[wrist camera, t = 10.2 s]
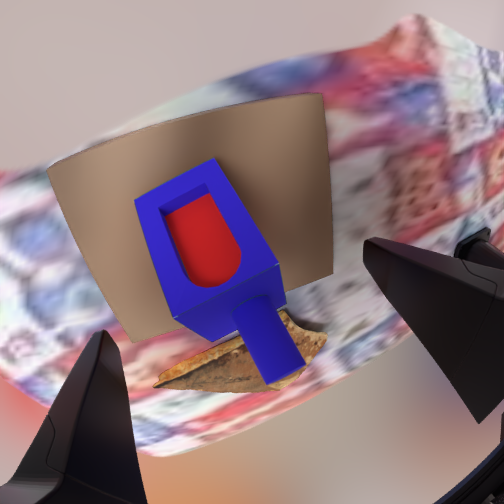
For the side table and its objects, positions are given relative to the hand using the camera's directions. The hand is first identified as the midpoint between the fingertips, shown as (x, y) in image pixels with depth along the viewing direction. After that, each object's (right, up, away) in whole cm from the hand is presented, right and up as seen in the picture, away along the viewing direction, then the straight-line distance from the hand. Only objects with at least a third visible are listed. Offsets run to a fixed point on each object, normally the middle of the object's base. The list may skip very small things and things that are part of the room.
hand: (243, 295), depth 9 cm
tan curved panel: (-2, +3, +5) cm, 6 cm away
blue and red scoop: (-2, +2, +4) cm, 5 cm away
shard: (0, -7, +12) cm, 14 cm away
